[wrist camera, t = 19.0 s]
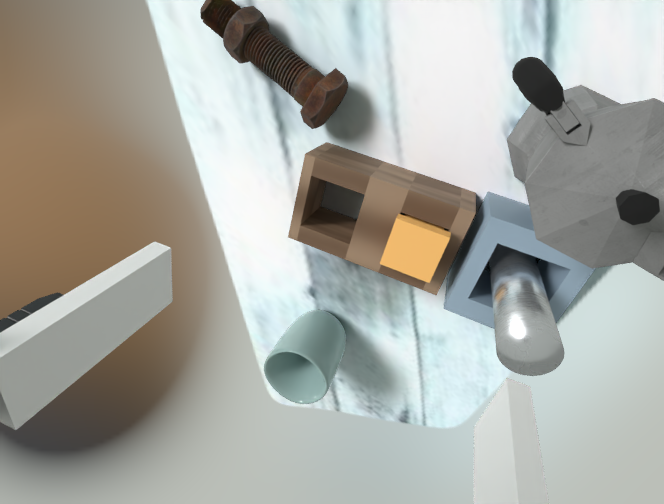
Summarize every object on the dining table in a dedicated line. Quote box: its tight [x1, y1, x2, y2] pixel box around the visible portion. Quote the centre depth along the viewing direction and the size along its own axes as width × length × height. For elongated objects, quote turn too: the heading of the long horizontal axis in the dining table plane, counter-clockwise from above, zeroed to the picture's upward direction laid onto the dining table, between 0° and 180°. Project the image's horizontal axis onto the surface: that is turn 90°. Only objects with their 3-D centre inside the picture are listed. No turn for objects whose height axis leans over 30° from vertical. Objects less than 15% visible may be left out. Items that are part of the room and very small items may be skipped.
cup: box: [264, 310, 346, 404], centre depth 47 cm, size 8×8×10 cm
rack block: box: [444, 192, 596, 329], centre depth 36 cm, size 10×9×7 cm
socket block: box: [288, 142, 476, 295], centre depth 38 cm, size 9×16×6 cm, turn 76°
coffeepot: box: [507, 57, 664, 280], centre depth 25 cm, size 15×9×18 cm, turn 44°
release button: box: [380, 214, 451, 283], centre depth 36 cm, size 5×5×7 cm
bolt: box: [201, 0, 348, 129], centre depth 36 cm, size 6×5×15 cm
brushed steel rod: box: [489, 244, 564, 376], centre depth 32 cm, size 4×4×16 cm
